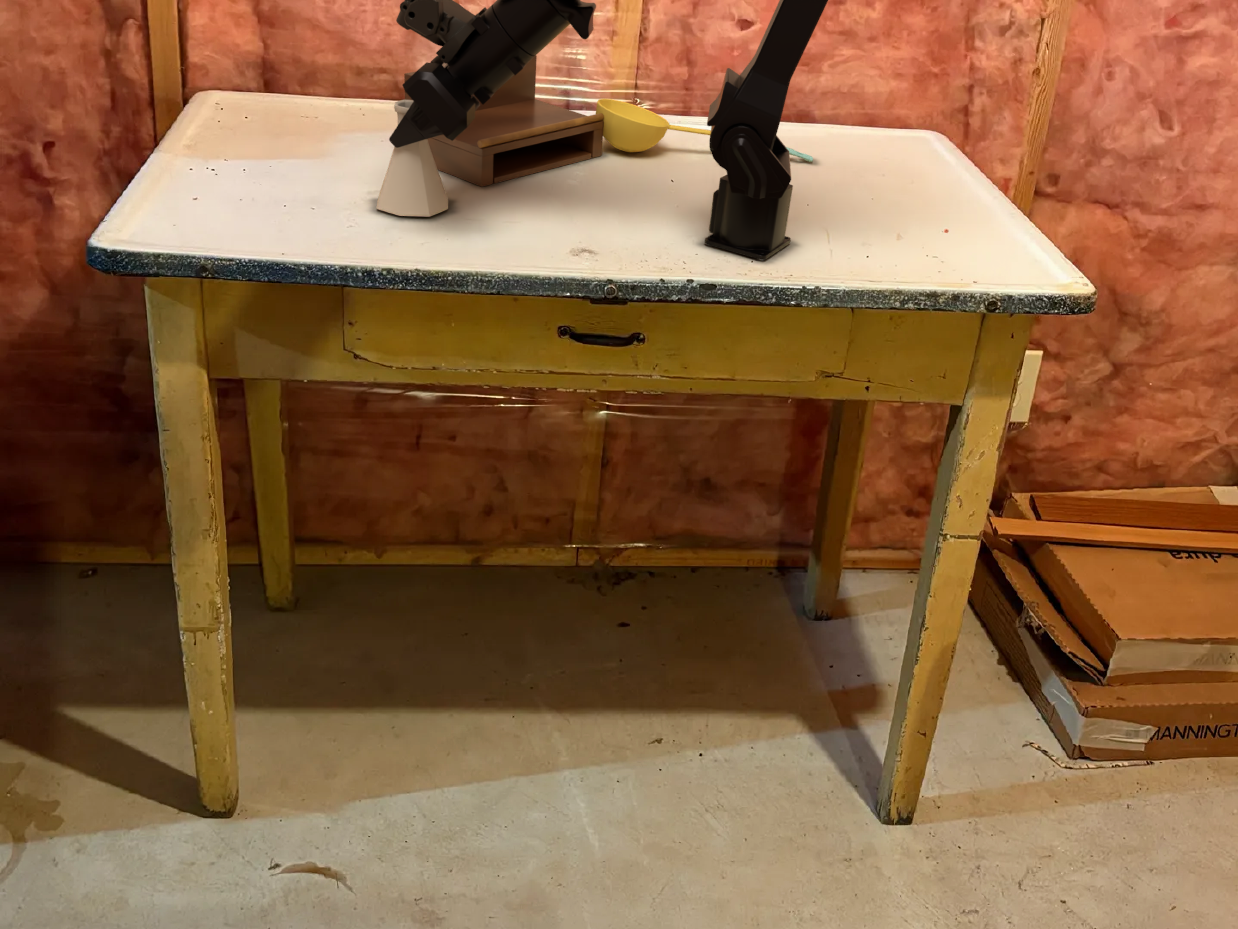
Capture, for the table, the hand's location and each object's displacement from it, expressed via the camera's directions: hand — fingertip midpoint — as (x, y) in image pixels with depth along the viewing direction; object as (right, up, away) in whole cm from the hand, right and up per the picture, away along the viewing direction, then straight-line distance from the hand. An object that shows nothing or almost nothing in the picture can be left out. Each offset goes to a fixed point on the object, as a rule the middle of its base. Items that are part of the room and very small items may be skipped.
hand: (397, 138), depth 109 cm
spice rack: (+9, +3, +19) cm, 21 cm away
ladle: (+31, +5, +26) cm, 41 cm away
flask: (+1, -6, +3) cm, 7 cm away
